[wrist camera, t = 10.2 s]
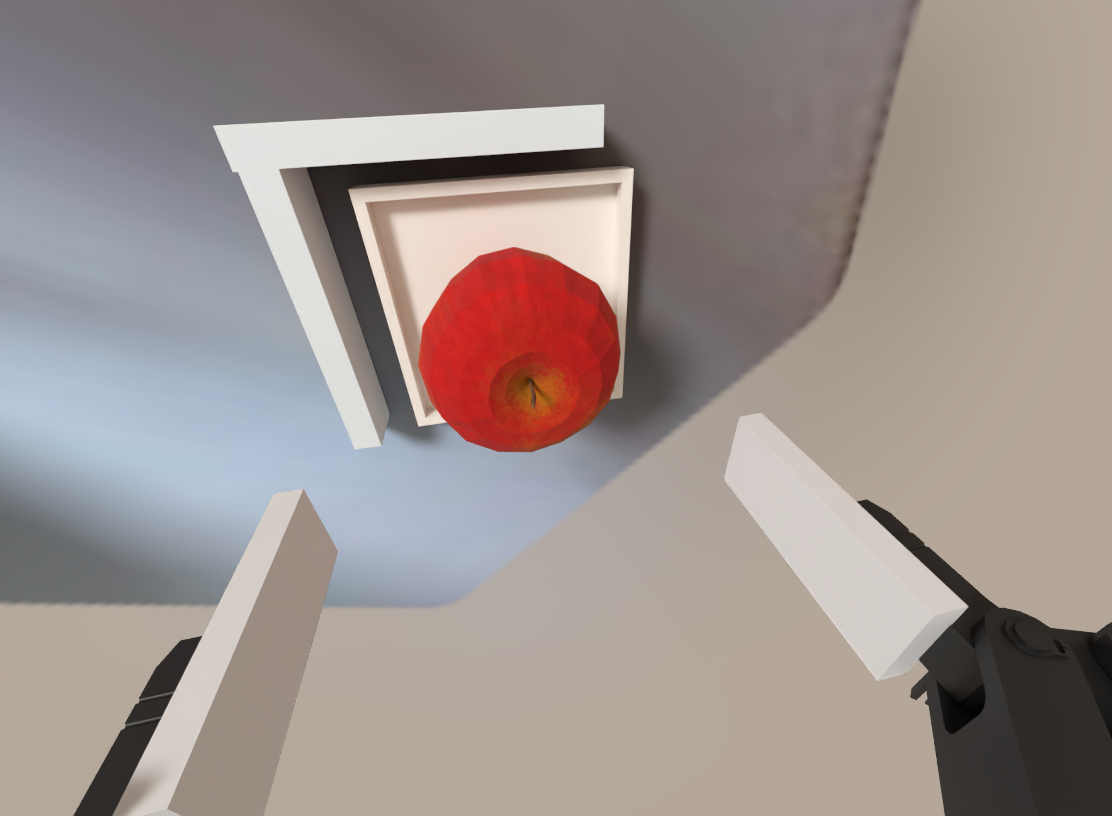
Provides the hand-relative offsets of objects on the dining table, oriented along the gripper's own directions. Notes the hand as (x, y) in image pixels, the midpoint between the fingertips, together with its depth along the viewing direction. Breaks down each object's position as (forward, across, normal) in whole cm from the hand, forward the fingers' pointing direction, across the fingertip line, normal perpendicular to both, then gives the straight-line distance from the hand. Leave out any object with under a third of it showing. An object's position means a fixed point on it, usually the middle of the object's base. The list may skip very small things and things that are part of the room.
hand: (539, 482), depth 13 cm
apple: (+15, 0, 0) cm, 15 cm away
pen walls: (+16, -2, +1) cm, 16 cm away
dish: (+16, +1, 0) cm, 16 cm away
